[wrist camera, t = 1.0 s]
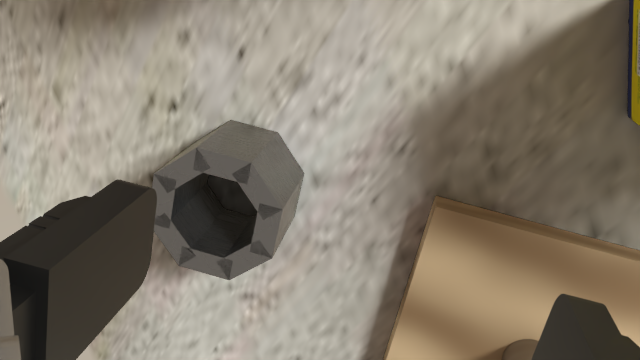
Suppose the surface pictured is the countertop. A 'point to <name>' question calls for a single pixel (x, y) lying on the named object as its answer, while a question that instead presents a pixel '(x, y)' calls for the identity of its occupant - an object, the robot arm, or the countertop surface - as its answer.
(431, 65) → the countertop surface
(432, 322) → the shaft stand
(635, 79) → the supplement box
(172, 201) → the ring
